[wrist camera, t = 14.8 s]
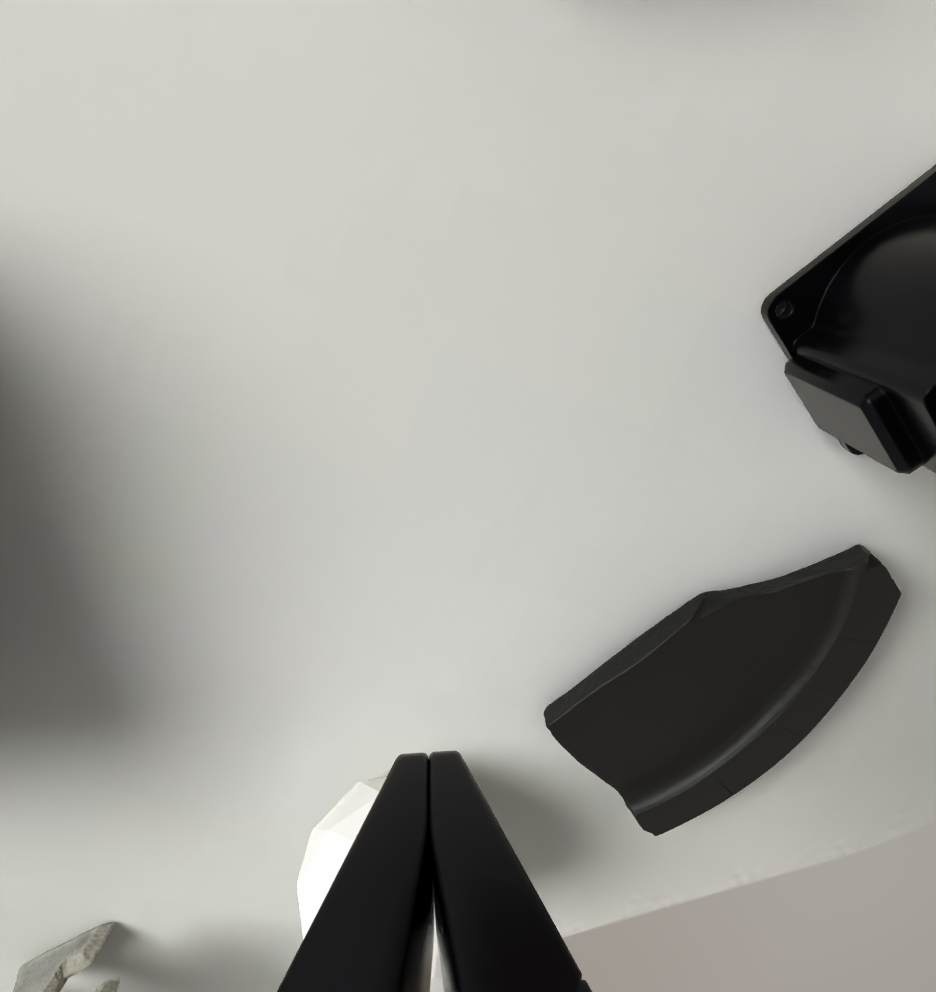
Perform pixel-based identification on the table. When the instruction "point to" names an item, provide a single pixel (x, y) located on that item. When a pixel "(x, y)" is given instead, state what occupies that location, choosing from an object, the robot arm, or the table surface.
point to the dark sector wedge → (724, 686)
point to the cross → (64, 964)
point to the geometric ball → (341, 857)
